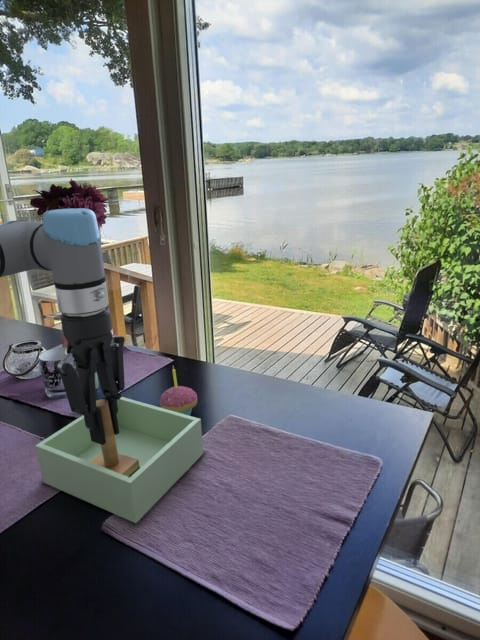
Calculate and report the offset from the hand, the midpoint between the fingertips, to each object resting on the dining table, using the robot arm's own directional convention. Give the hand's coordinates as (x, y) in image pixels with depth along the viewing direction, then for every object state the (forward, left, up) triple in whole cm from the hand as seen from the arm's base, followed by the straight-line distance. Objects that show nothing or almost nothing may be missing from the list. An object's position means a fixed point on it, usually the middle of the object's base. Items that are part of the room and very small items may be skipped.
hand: (105, 436), depth 77 cm
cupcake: (-1, +23, -10) cm, 25 cm away
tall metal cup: (-21, +18, -10) cm, 29 cm away
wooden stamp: (+1, 0, -8) cm, 8 cm away
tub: (0, +4, -10) cm, 10 cm away
